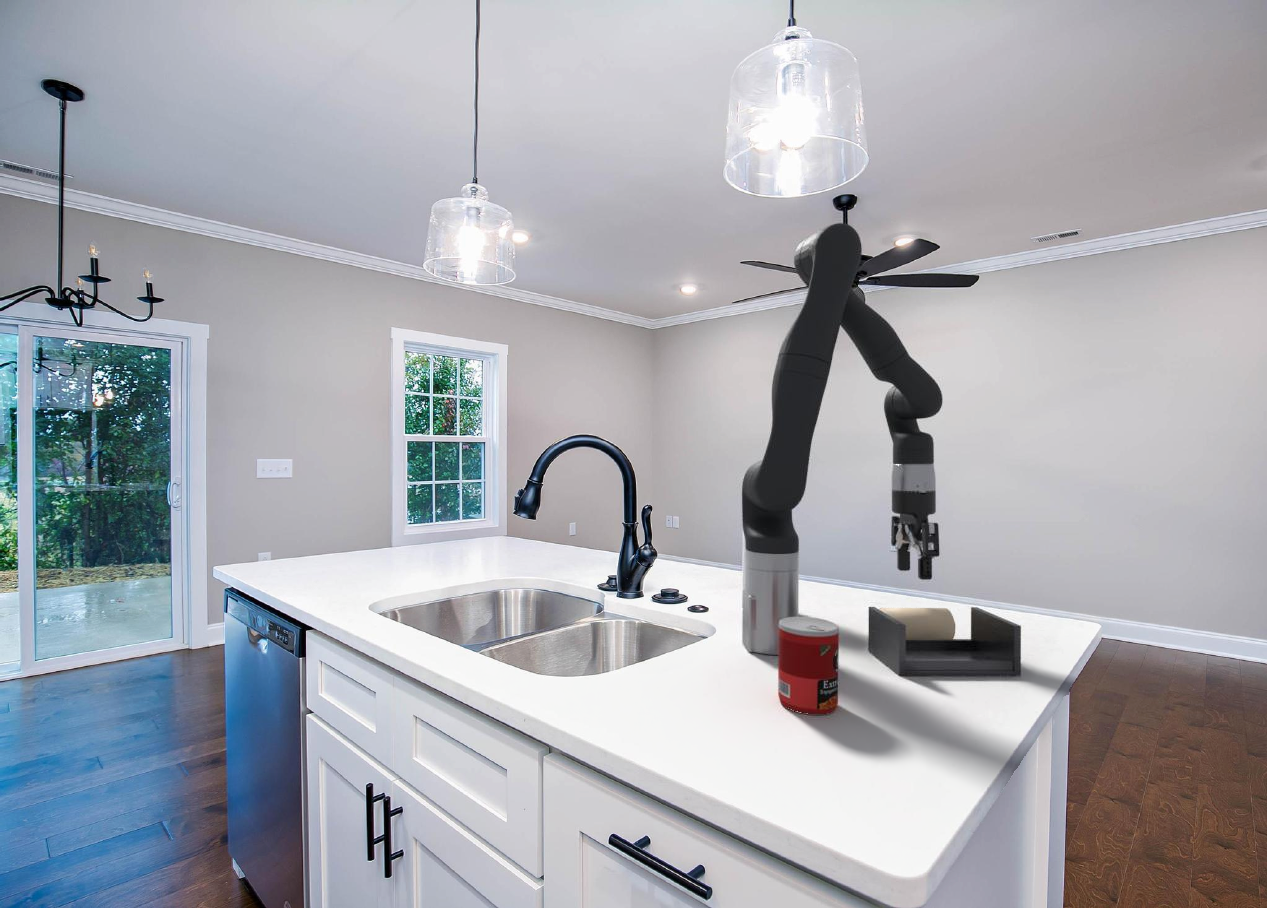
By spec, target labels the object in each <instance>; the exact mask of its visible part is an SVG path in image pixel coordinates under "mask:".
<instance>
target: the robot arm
mask: <svg viewBox="0 0 1267 908" xmlns="http://www.w3.org/2000/svg"><path fill="white" fill-rule="evenodd" d="M860 237H861V236H860V235H859V233H858V232H857V231H856V229H855V228H854V227H853V226H851V225H850V224H848V223H844V222H837V223H832V224H829V225H828V226H825V227H823V228H821V229H820V230H818V231H817V232H815V233H813V234H812V235H810V236H808V237H807V238H805V239H804V240H802V242H800V243H798V246H797V247H796V248H795V249H796V250H795V251H794V256H793V264H794V269H795V271H796V273H797V275H798V276H799V278H800V279H801V281H802V282H803V283H804V284H805V286H806V287H807V288H808V290H807V293H806V297H805V300H804V301H803V304H802V307H801V308H800V310H799V312H798V314H797V315H796V317H795V319H794V320H793V322H792V324H791V326H790V328H789V329H788V332H787V333H786V335H785V337H784V339H783V340H782V343H781V346H780V349H779V350H778V351H779V353H778V355H777V359H776V364H775V368H774V372H773V377H772V384H771V412H772V421H771V430H770V435H769V439H768V442H767V446H766V448H765V449H766V450H765V452H764V455H763V457H762V460H759V461H757V462H754V463H753V464H751V466H749V467H748V468H747V470H746V472H745V474H744V479H743V478H742V485H741V486H742V487H741V510H742V511H741V513H742V514H741V515H742V516H741V517H742V533H743V532H744V536H745V542H746V572H745V589H744V590H743V609H742V620H741V621H742V628H741V629H742V631H741V632H742V635H741V636H742V637H741V638H742V640H741V641H742V644H743V645H744V647H745V648H746V650H747V651H748V652H749V653H759V654H764V655H769V656H770V655H772V656H774V655H775V656H778V633H779V621H780V620H781V619H784V618H788V617H799V594H800V593H799V588H800V587H799V584H800V583H799V581H800V579H799V575H800V571H799V570H800V569H799V568H800V561H799V560H800V559H799V558H800V553H799V551H800V547H799V546H800V545H799V544H800V542H799V541H800V539H799V536H798V533H797V531H796V530H795V529H796V528H795V526H794V523H793V522H794V521H793V510H794V509H795V508H796V507H797V506H798V505H799V504H800V503H801V501H802V499H803V497H804V495H805V492H806V487H807V480H808V472H809V464H810V462H809V461H810V455H811V450H812V449H811V447H812V442H813V437H814V433H815V429H816V427H817V423H818V417H819V415H820V411H821V408H822V407H821V406H822V402H823V398H824V396H825V395H824V394H825V391H826V388H827V384H828V380H829V376H830V371H831V368H832V362H833V356H834V351H835V347H836V344H837V340H838V335H839V333H840V328H842V329H843V330H844V332H845V333H846V334H847V336H848V337H849V338H850V341H852V343H853V345H854V346H855V348H857V351H858V353H860V355H861V357H862V359H863V361H864V362H865V364H866V366H867V367H868V368H869V370H870V372H871V373H872V375H873V377H874V378H875V379H877V380H878V381H880V382H885V383H889V384H891V385H893V386H891V387H890V388H889V389H888V390H887V392H886V393H885V396H884V397H885V398H884V402H883V411H884V416H885V420H886V425H887V427H888V430H889V431H888V432H889V434H890V438H891V440H892V471H891V511H892V513H894V514H897V515H892V516H891V526H890V527H891V531H890V532H891V534H890V535H891V537H890V540H891V541H890V543H891V546H892V547H895V549H894V550H895V551H897V552H896V553H897V554H896V555H897V556H896V557H897V558H896V560H897V562H896V563H897V564H896V566H897V567H896V568H897V570H898V571H900V572H901V571H902V572H904V571H905V572H906V571H907V572H908V571H911V551H910V550H911V547H912V548H913V549H915V550H916V554H917V557H918V558H917V577H918V579H919V580H921V581H922V580H923V581H924V580H927V581H929V580H932V578H933V559H935V557H936V558H937V557H940V554H941V553H940V552H941V551H940V536H939V535H940V533H939V529H940V528H939V523H938V522H929V516H930V515H935V514H936V512H937V498H936V497H937V496H936V494H937V492H936V491H937V490H936V486H937V485H936V484H937V483H936V481H937V480H936V471H935V463H934V462H935V459H934V458H935V451H934V449H935V447H934V445H935V443H934V438H933V436H932V435H931V434H930V433H928V432H924V431H922V430H920V426H919V424H918V420H921V419H928V418H932V417H935V416H936V415H937V414H938V413H939V412H940V410H941V409H942V406H943V394H942V390H941V388H940V385H939V384H938V382H937V381H936V380H935V378H933V377H932V376H931V375H930V373H928V372H927V371H926V370H925V369H924V368H923V367H922V366H921V365H920V364H919V362H917V361H916V360H915V359H914V358H912V357H911V355H909V352H908V350H907V349H906V347H905V345H904V344H903V342H902V341H901V339H900V337H899V335H898V334H897V332H896V331H895V329H894V328H893V327H892V326H891V324H890V323H889V322H888V321H887V320H886V319H885V318H884V317H883V316H881V315H880V314H879V313H878V312H877V311H876V310H874V309H873V308H872V307H870V306H869V305H868V304H867V303H866V302H865V301H863V300H862V299H861V297H860V296H859V295H857V293H856V292H855V291H854V290H853V288H852V286H853V284H854V281H855V278H856V275H857V273H858V269H859V267H860V264H861V260H862V254H863V253H862V251H863V247H862V242H861V238H860Z"/></svg>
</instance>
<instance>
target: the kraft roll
mask: <svg viewBox="0 0 1267 908" xmlns="http://www.w3.org/2000/svg"><path fill="white" fill-rule="evenodd" d="M878 609H879V610H881V611H882V612H884V613H886V614H887V615H889V616H891V617H892V618H894V619H896V620H897V621H899V622H901V623H903V624H904V625H906V639H955V634H956V621H955V619H954V615H953V614H952V612H951V611H950V609H948V608H945V607H879V608H878Z"/></svg>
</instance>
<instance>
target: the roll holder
mask: <svg viewBox="0 0 1267 908" xmlns="http://www.w3.org/2000/svg"><path fill="white" fill-rule="evenodd" d="M867 633H868V638H867V639H868V644H867V645H868V646H867V647H868V651H869V652H868V653H870V654H871V655H872V656H873V657H875V658H876V659H877V660H878V659H879V660H878V661H879V662H880V663H882V664H883V665H884V666H886V667H887V668H889V670H891V671H892V672H894V674H896V675H897V676H898V677H1021V675H1022V671H1021V670H1022V667H1021V666H1022V625H1019V624H1018V623H1015V622H1013V621H1010V620H1008V619H1005V618H1003V617H1001V616H999V615H996V614H993V613H991V612H989V611H987V610H984V609H982V608H979V607H977V606H976V607H975V606H971V607H970V638H953V639H906V625H904V624H903V623H901V622H899V621H897V620H896V619H894V618H892V617H891V616H889V615H887V614H886V613H884V612H882V611H881V610H879V608H877V607H875V606H868V632H867Z"/></svg>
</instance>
